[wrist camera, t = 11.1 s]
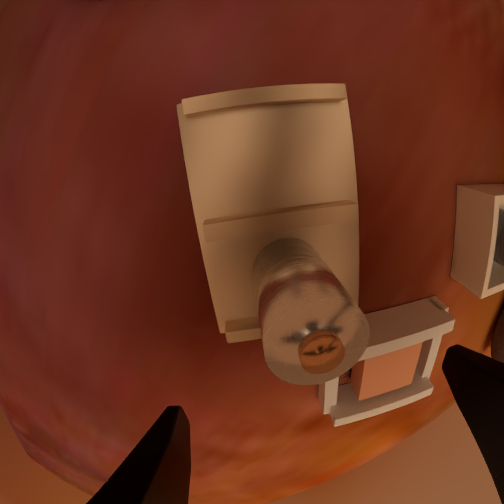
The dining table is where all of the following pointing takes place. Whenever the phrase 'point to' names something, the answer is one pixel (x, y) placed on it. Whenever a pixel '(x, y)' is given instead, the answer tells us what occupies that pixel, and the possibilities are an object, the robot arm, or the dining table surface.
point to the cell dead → (500, 240)
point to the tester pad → (385, 372)
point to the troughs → (269, 187)
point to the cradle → (385, 341)
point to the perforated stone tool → (498, 339)
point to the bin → (477, 238)
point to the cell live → (305, 315)
